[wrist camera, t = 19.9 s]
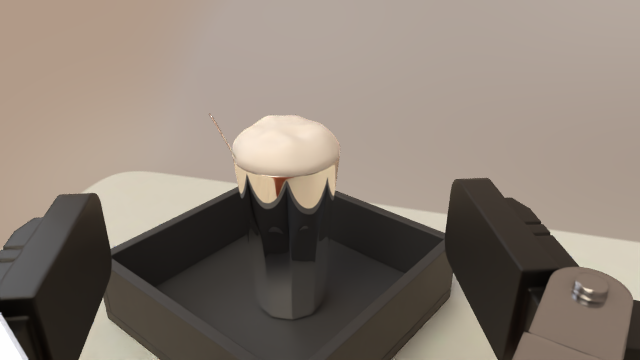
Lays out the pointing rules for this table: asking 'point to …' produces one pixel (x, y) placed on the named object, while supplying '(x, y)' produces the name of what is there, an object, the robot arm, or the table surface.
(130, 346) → the table surface
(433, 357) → the table surface
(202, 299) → the grey bin
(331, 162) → the milkshake
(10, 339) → the robot arm
